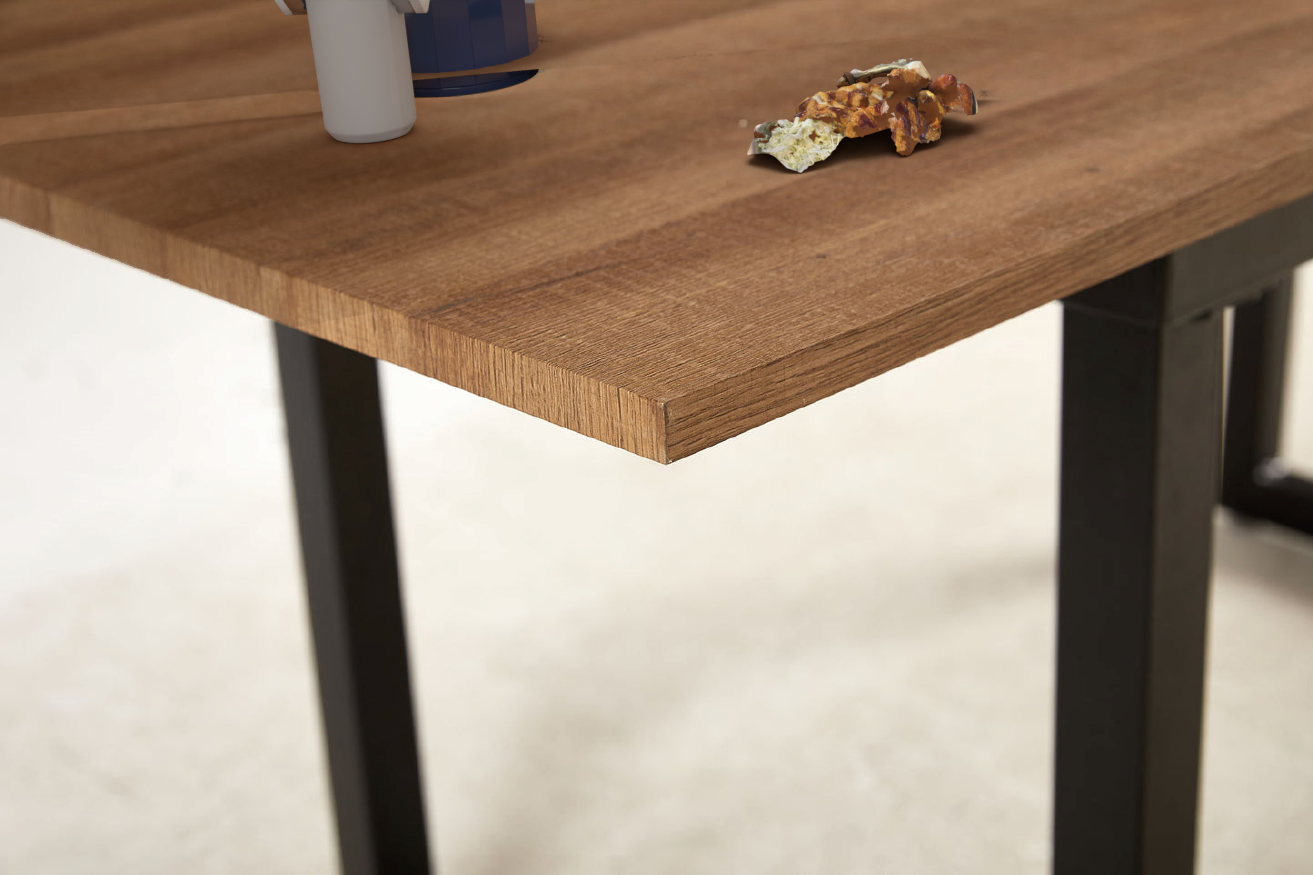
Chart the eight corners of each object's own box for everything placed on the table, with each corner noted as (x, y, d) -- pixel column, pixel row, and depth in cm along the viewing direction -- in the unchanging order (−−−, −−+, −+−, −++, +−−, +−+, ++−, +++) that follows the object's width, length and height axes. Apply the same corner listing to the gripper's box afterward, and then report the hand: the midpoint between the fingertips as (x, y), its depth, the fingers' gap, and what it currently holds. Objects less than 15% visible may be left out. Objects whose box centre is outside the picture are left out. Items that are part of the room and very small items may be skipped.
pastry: (721, 157, 74) (718, 82, 73) (883, 104, 81) (884, 35, 80) (833, 184, 69) (832, 104, 68) (995, 124, 77) (998, 51, 75)
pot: (512, 97, 87) (496, -60, 83) (337, 98, 89) (315, -55, 85) (558, 55, 96) (546, -89, 93) (399, 57, 98) (381, -84, 95)
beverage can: (317, 129, 83) (281, -106, 78) (404, 116, 85) (375, -116, 79) (337, 150, 79) (300, -97, 74) (428, 136, 81) (399, -107, 75)
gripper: (486, -256, 66) (562, -55, 78) (48, -233, 70) (189, -45, 82) (466, -132, 64) (547, 54, 77) (17, -115, 68) (166, 59, 81)
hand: (358, 3), depth 80 cm, fingers closed on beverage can, 5 cm apart
